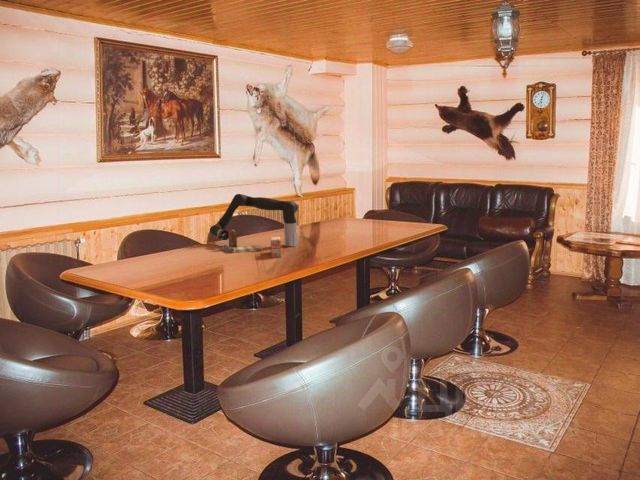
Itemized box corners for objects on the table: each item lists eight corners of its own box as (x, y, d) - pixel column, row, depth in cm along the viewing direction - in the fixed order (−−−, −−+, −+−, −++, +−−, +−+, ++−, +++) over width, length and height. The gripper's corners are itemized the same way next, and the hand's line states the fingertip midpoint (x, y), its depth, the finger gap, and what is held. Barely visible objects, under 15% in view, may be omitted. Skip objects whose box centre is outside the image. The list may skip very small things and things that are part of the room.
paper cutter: (254, 246, 457) (254, 242, 456) (262, 250, 442) (262, 246, 441) (222, 249, 445) (222, 245, 445) (229, 253, 430) (229, 248, 430)
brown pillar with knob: (234, 248, 448) (234, 229, 446) (237, 249, 445) (236, 230, 442) (229, 249, 446) (228, 229, 444) (231, 250, 442) (230, 230, 440)
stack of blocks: (270, 251, 436) (270, 234, 434) (279, 251, 437) (279, 234, 434) (271, 257, 415) (271, 239, 413) (281, 257, 416) (280, 239, 414)
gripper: (214, 230, 458) (221, 233, 443) (232, 228, 464) (239, 231, 450) (214, 239, 459) (221, 243, 445) (232, 238, 465) (239, 241, 451)
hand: (230, 237), depth 447 cm, fingers open, 8 cm apart
